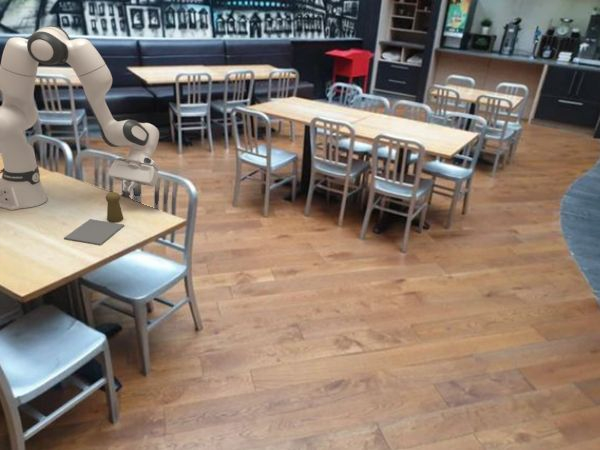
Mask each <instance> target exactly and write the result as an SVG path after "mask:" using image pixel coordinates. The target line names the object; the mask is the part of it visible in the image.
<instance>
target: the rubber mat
mask: <svg viewBox="0 0 600 450" xmlns="http://www.w3.org/2000/svg"><path fill="white" fill-rule="evenodd" d="M124 227H125V224H122V223H119V222H117V223H111V222H108V221H105V220H98V219H93V218H92V219H91V218H89V219H88V220H87V221H85V222H84V223H82V224H81V225H80V226H78V227H77V228H75V229H74V230H73V231H72V232H70V233H68V234H67V235H66V236H64V237H63V239H64V240H66V241H67V240H68V241H72V242H77V243H78V242H79V243H82V244H83V243H84V244H90V245H95V246H103V244H104V243H106V242H107V241H108V240H109V239H110V238H112V237H113V236H114V235H115V234H116V233H117V232H119V231H120V230H121V229H123V228H124Z"/></svg>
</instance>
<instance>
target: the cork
mask: <svg viewBox="0 0 600 450" xmlns="http://www.w3.org/2000/svg"><path fill="white" fill-rule="evenodd" d="M105 200H106V203H107V206H106V207H107V208H106V209H107V210H106V222H111V223H120V222H122V221H124V216H123V211H122V208H121V207H122V206H121V203H120V200H121V195H120V193H118V192H115V191H112V192H111V191H110V192H108V193H107V194H105Z"/></svg>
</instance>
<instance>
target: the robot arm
mask: <svg viewBox="0 0 600 450" xmlns="http://www.w3.org/2000/svg"><path fill="white" fill-rule="evenodd" d="M65 63H67V64H68V65H69V66H70V67H71V68H72V70H73V72H74V73H75V75H76V76H77V78H78V80H79V81H80V84H81V86H82V88H83V91H84V92H83V94H84V97H85V99H86V102H87V104H88V106H89V108H90V110H91V112H92V114H93V116H94V118H95V120H96V123H97V124H98V126H99V127H98V128H99V131H100V133H101V138H102V140H103V142H104V143H105V144H106V145H108V146H109V147H111V148H119V147H123V146H129V147H130V150H129V152H128V155H127V158H122V157H118V158H115V159H114V161H113V163H112V164H111V165H110V167H109V169H108V171H107V176H108V177H109V178H110V179H111V180H116V181H121V182H122V186H123V187H122V191H123V192H125V193H128V194H129V193H132V190H133V189H135V188H136V187H137V185H143V186H149V187H154V186H155V185H156V184H157V182H158V178H159V171H160V169H161V167H160V166H159V164H158V163H157V162H156V161H155V160H153V159H152V158H153V154H154V152H155V150H156V148H157V147H158V143H159V138H160V131H159V129H158V127H156V126H155V125H153V124H151V123H149V122H138V120H135V119H125V120H120V121H119V120H118V121H117V120H116V119H114V116H113V115H112V113H111V111H110V109H109V107H108V105H107V101H106V94H107V93H108V92H109V91H110V89H111V87H112V86H113V85H112V84H113V77H112V73H111V71H110V69H109V68H108V66H107V64H106V62H105V60H104V59H103V57H102V56H101V54H100V53H99V51H98V50H97V48H96V47H95V46H94V45H93V44H92V42H91V41H90V40H88V39H87V38H83V37H82V38H81V37H79V38H74V39H71V38H70V36H69V34H68V33H67V31H66V30H64V29H63V28H61V27H60V26H56V25H46V26H44V27H41V28H39V29H37V30H36V31H35V32H33V33H32V34H31V35H30V36H29V37H28V38H23V37H19V36H17V37H14V36H13V37H11V38H10V37H9V39H8V40H7V41H6V43H5V46H4V48H3V52H2V56H1V61H0V91H1V93H2V99H3V100H2V101H3V102H2V104H1V105H0V155H1V159H2V164H3V168H2V169H0V174H2V175H1V177H0V208H2V209H6V210H9V211H15V210H19V209H26V208H33V207H38V206H40V205H43V204H44V203H46V202H47V200H48V197H47V195H46V193H45V191H44V188H43V185H42V182H41V179H40V178H41V177H40V169H39V166H37V165H38V164H37V161H36V155H35V149H34V147H33V146H32V145H31V144H29V143H28V141H27V139H26V138H25V135H24V132H25V131H27V130H28V129H29V130H30V129H31V128H32V127H33V126H34V125H35V124H36V123H37V121H38V120H39V111H38V109H37V107H36V106H35V101H34V94H35V93H34V92H35V86H36V79H37V73H38V66H39V64H42V65H59V64H61V65H62V64H65ZM129 183H130V185H129ZM128 185H129V186H128Z"/></svg>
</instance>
